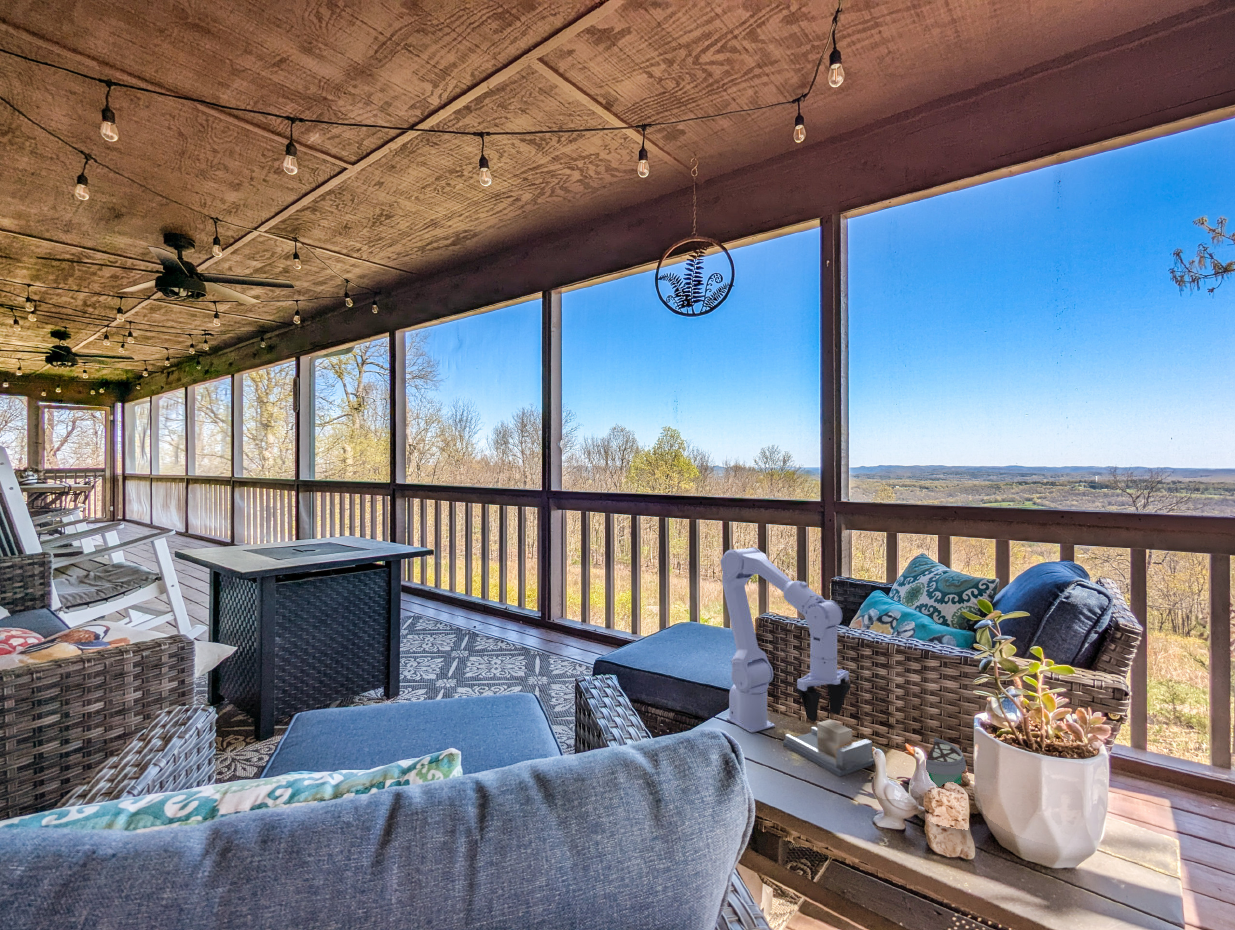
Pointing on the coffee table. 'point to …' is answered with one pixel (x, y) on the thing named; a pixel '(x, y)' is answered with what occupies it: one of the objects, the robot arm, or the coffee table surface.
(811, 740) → the rail board
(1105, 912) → the coffee table surface
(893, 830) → the coffee table surface
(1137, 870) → the coffee table surface
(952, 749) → the food container
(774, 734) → the coffee table surface
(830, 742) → the birch block
